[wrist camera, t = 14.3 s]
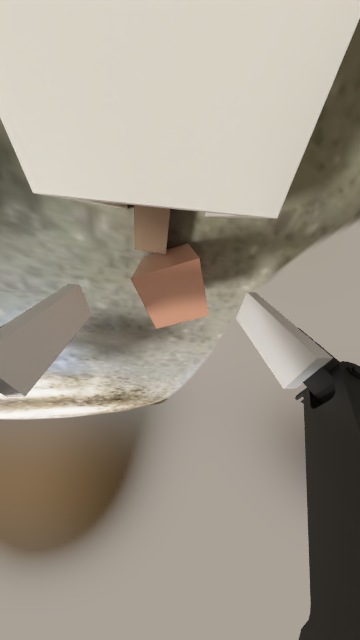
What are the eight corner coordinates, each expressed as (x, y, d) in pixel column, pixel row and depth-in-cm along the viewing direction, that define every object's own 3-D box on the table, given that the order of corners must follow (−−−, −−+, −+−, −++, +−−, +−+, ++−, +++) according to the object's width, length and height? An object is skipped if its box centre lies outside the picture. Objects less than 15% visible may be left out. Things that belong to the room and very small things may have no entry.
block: (144, 256, 13) (130, 278, 8) (187, 242, 13) (199, 258, 8) (159, 295, 16) (156, 328, 11) (196, 285, 15) (208, 315, 11)
